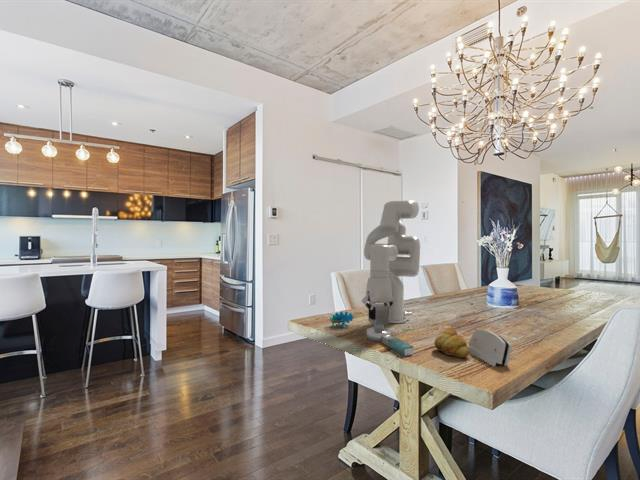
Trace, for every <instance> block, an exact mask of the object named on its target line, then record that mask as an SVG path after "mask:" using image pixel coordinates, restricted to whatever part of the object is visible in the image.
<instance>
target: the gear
mask: <svg viewBox="0 0 640 480" xmlns="http://www.w3.org/2000/svg"><path fill="white" fill-rule="evenodd" d="M343 312H344V311H340V312H335V314H332V317H331V316H330V317H329V321H331V322H330V323H331V324H332V328H335V324H337V325H340V324H341V328H342V329H344V328H345V325H346V323H347V324H349V323H351V322H353V319H354V315H352V312H348V311H345V312H344V313H343Z"/></svg>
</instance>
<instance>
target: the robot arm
mask: <svg viewBox="0 0 640 480" xmlns="http://www.w3.org/2000/svg"><path fill="white" fill-rule="evenodd" d="M419 207H420V206H419V203H418V201H417V200H390V201H388V202H385V203H384V205H383V210H382V214H381V219H380V223H379V224H378V226H376V227H375V228H373V230H372V231H370V233H368V235H367V237H366V239H365V244H364V249H363V256H364V258H365V260H367V261H370V263H369V265H370V270H369V272H370V274H369V275H370V277H368V278H367V282H366V286H365V287H366V288H365V296H364V297H363V298H362V300H361V302H362V303H363V304H364V306H365V307H366V308H367V309H368V316H369V318H370V319H372V320H374V310H373V308H374V305H375V304H384V305H386V306H389V324H404V323H406V322H407V321H408V320H407V316H408V317H410V316H412V315H413V312H412V311H405V310H404V307H405V305H404V303H405V302H404V298H405V297H404V295H405V294H404V293H405V290H404V289H405V286H404V282H403V281H402V280H401V278H400V277H408V278H411V277H412V278H413V277H417V276H418V275H419V272H420V257H421V242H420V239H419V238H418V237H417V236H412V235H409V236H408V235H407V236H406V233H407V228H406V226H405V224H404V223H403V222H402V219H404V220H405V219H406V220H407V219H414V218H416V217H418V215H419V212H420V211H419V210H420V208H419ZM385 238H387V243H377V242H378V241H380V240H382V239H385Z"/></svg>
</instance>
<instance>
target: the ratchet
mask: <svg viewBox="0 0 640 480" xmlns="http://www.w3.org/2000/svg"><path fill="white" fill-rule="evenodd" d="M366 339H368V340H369V341H373V342H378V343H379V342H381V343H382V344H385V345H386V346H387V347H388V348H390V349H392V350H393V351H395V352H397V353H398V354H400V355H401V356H404V357H407V356H413V355H414V346H413V345H411V344H410V343H408V342H406V341H404V340H402V339H401V338H398V337H396V338H395V337H394V336H392V330H391V329H389V328H386V327H385V324H379V325H375V324H373V327H369V328H366Z"/></svg>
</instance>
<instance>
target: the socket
mask: <svg viewBox="0 0 640 480" xmlns="http://www.w3.org/2000/svg"><path fill="white" fill-rule="evenodd" d="M373 310H374V320H372V319H370V318H369V315H368V319H367V321H368V322H369V323H372V324H373V325H374V324H375V325H379V324H384V325H387V324H390V323H389V306H386V305H384V303H375V305H374V308H373Z"/></svg>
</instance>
